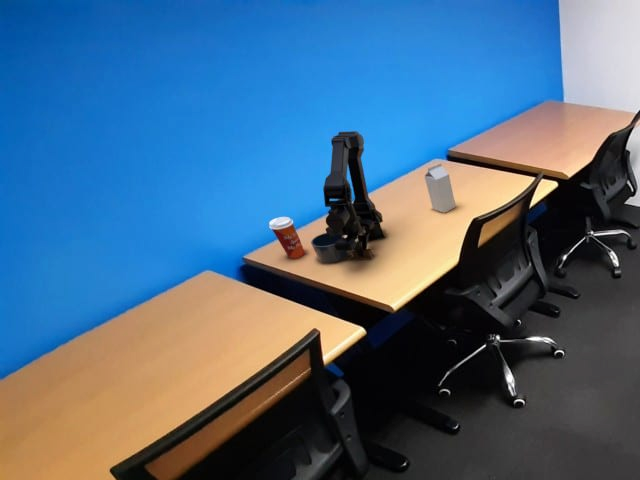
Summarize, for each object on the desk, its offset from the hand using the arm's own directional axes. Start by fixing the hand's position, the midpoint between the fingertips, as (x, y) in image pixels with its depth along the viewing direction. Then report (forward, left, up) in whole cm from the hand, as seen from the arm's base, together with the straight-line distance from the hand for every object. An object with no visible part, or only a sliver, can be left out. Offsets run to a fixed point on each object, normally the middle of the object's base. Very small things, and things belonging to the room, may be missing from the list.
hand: (362, 254), depth 174 cm
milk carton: (-38, -25, -1) cm, 45 cm away
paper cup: (+22, -14, -1) cm, 26 cm away
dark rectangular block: (0, 0, -1) cm, 1 cm away
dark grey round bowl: (+9, -6, -1) cm, 12 cm away
